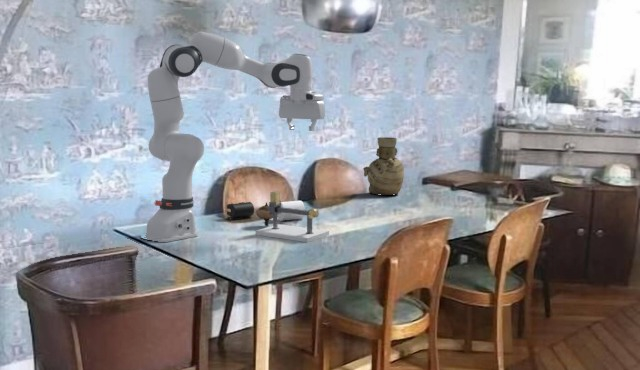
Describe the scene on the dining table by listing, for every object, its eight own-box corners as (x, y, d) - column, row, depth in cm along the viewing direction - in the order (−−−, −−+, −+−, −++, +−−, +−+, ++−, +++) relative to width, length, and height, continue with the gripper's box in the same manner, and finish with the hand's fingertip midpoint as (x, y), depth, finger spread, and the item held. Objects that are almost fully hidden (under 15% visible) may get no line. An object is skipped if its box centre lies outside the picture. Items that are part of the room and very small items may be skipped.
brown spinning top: (252, 226, 285) (252, 201, 284) (268, 223, 290) (268, 199, 289) (264, 229, 279) (263, 204, 277) (280, 226, 284) (280, 202, 283)
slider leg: (274, 228, 270) (274, 192, 268) (269, 227, 271) (268, 192, 269) (281, 226, 274) (281, 191, 272) (275, 225, 275) (275, 190, 273)
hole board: (307, 242, 256) (307, 237, 256) (255, 234, 269) (255, 230, 268) (329, 234, 269) (329, 230, 268) (278, 227, 281) (278, 224, 281)
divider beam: (315, 234, 261) (315, 209, 260) (267, 228, 273) (267, 204, 272) (318, 233, 263) (318, 208, 262) (271, 227, 275) (270, 203, 274)
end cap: (235, 221, 296) (234, 205, 295) (226, 218, 301) (225, 203, 300) (254, 218, 302) (254, 202, 301) (245, 215, 308) (245, 200, 307)
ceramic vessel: (363, 191, 377) (364, 135, 373) (402, 191, 375) (403, 136, 371) (362, 197, 358) (363, 138, 354) (404, 197, 357) (405, 139, 352)
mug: (276, 219, 300) (276, 200, 299) (297, 217, 304) (297, 199, 303) (287, 224, 289) (287, 205, 288) (309, 222, 294) (309, 203, 293)
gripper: (275, 95, 280) (275, 129, 282) (318, 95, 269) (318, 131, 271) (284, 95, 285) (284, 129, 287) (327, 95, 274) (327, 130, 276)
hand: (301, 130), depth 279 cm, fingers open, 8 cm apart
